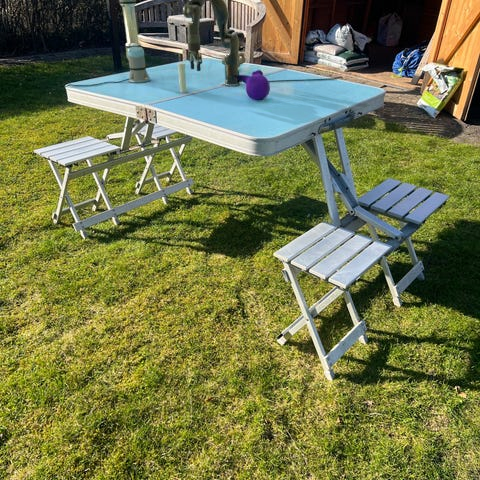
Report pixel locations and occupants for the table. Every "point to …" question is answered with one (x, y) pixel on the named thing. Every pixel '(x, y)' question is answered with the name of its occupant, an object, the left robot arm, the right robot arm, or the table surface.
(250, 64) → the table surface
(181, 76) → the pale green cylinder
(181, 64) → the lid
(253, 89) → the toy
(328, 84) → the table surface
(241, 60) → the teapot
